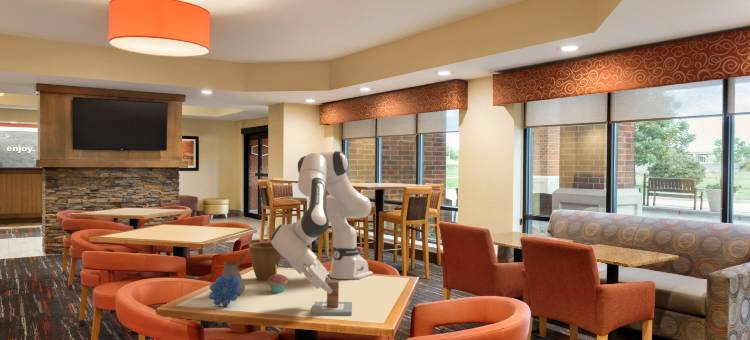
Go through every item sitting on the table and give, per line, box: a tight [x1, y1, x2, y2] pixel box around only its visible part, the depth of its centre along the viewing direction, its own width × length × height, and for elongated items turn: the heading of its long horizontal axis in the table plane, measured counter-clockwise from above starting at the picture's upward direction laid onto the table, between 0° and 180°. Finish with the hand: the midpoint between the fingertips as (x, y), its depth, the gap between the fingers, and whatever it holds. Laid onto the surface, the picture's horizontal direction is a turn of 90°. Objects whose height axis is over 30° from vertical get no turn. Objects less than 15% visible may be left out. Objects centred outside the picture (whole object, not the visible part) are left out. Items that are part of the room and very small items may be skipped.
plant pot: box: [248, 242, 282, 282], centre depth 249 cm, size 15×15×16 cm
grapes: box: [208, 274, 241, 307], centre depth 202 cm, size 12×7×12 cm, turn 98°
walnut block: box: [326, 280, 340, 308], centre depth 198 cm, size 4×4×9 cm
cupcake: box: [266, 265, 289, 294], centre depth 226 cm, size 9×8×12 cm
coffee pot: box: [220, 251, 250, 297], centre depth 224 cm, size 21×12×15 cm, turn 170°
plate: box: [311, 301, 353, 316], centre depth 198 cm, size 14×14×1 cm
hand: (331, 289), depth 198 cm, fingers open, 8 cm apart
